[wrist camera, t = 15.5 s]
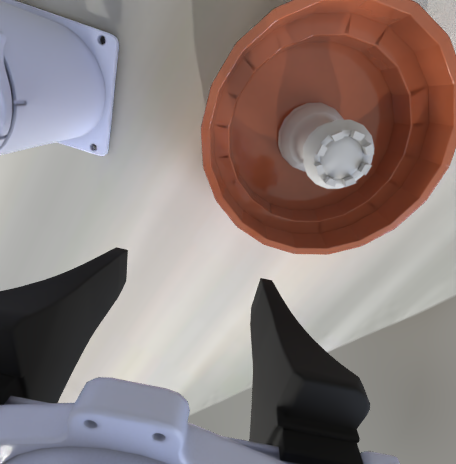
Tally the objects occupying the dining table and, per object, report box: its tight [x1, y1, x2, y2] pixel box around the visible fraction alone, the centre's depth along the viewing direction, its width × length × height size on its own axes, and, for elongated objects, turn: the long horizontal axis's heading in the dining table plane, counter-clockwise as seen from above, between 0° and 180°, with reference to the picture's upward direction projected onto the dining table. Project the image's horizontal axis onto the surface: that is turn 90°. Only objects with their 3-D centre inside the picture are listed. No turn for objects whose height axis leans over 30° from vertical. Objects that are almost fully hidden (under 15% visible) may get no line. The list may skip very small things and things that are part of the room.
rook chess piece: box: [278, 103, 374, 189], centre depth 16 cm, size 4×4×8 cm
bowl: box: [201, 0, 456, 254], centre depth 18 cm, size 14×14×5 cm
